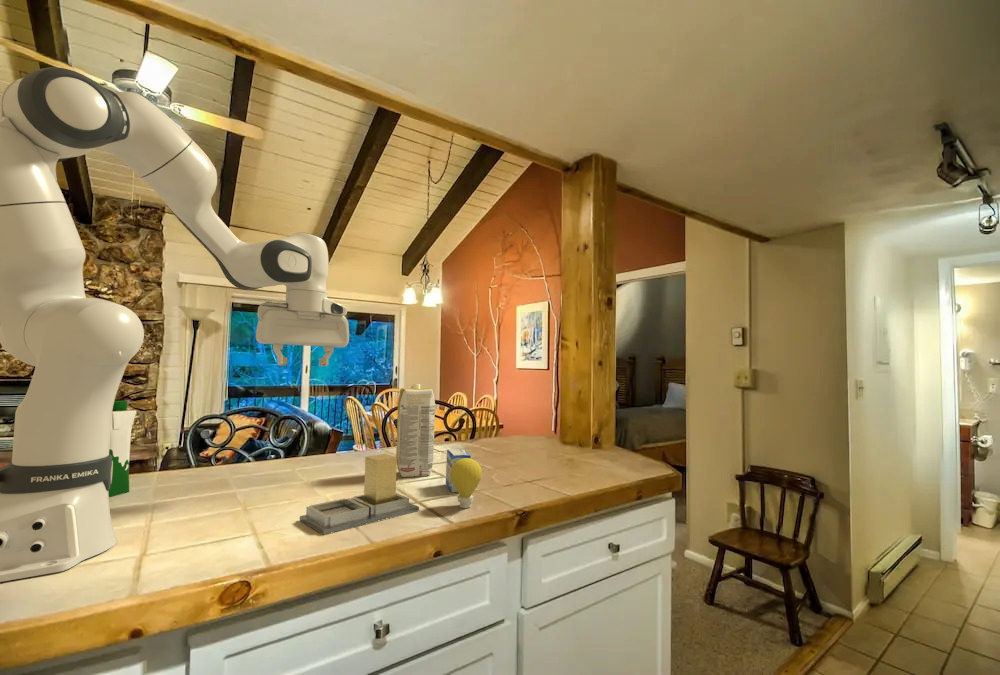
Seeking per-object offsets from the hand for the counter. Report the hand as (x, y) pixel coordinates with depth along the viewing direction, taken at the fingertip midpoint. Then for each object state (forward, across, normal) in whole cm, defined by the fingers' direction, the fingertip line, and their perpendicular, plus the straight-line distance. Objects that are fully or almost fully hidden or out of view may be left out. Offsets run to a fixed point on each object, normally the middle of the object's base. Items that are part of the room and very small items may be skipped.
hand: (303, 365), depth 107 cm
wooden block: (+28, +7, -23) cm, 37 cm away
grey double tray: (+29, +3, -23) cm, 37 cm away
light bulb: (+29, +22, -32) cm, 48 cm away
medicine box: (+29, +30, -20) cm, 46 cm away
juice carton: (+29, +30, -2) cm, 42 cm away
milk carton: (+29, -32, +26) cm, 50 cm away
